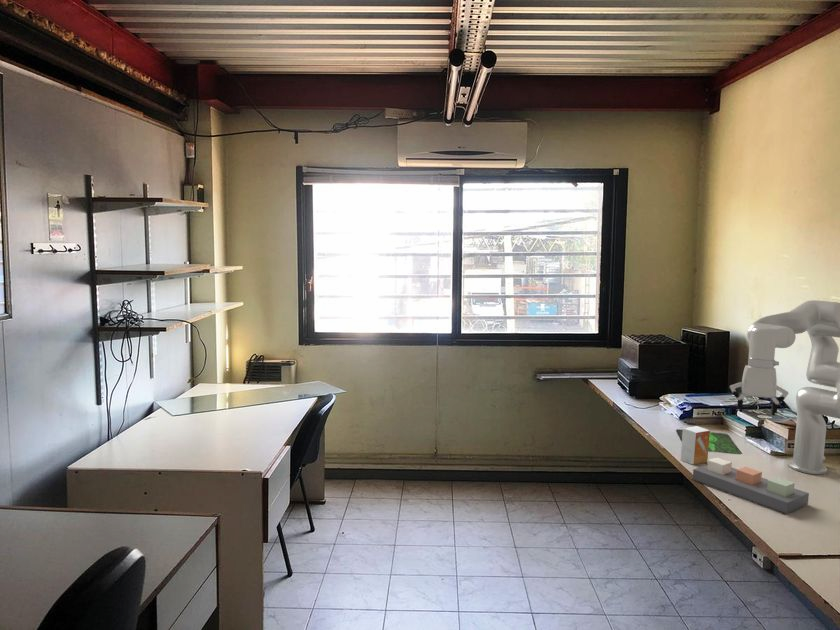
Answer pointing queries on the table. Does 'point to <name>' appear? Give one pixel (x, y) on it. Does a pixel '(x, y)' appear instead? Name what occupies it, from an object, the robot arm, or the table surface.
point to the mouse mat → (718, 443)
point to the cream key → (719, 466)
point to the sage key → (781, 486)
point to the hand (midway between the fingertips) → (756, 412)
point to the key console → (751, 490)
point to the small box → (695, 445)
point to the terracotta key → (748, 476)
